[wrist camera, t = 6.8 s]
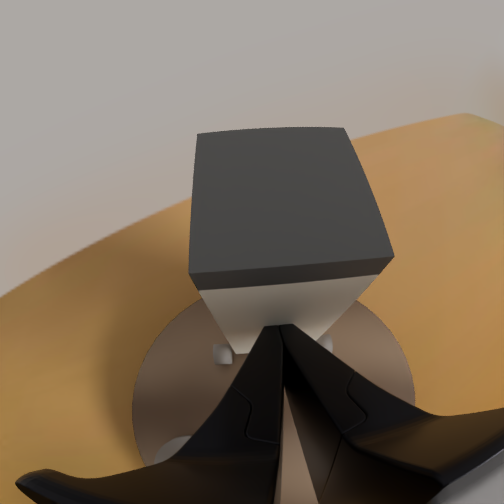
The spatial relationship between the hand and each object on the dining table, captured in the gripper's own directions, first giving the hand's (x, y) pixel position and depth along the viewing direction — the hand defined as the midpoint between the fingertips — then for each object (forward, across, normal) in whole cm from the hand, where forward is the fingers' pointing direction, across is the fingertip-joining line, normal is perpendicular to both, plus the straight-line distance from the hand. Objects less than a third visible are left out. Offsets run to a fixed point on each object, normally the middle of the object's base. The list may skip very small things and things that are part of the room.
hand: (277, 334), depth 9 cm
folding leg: (+5, 0, +2) cm, 5 cm away
